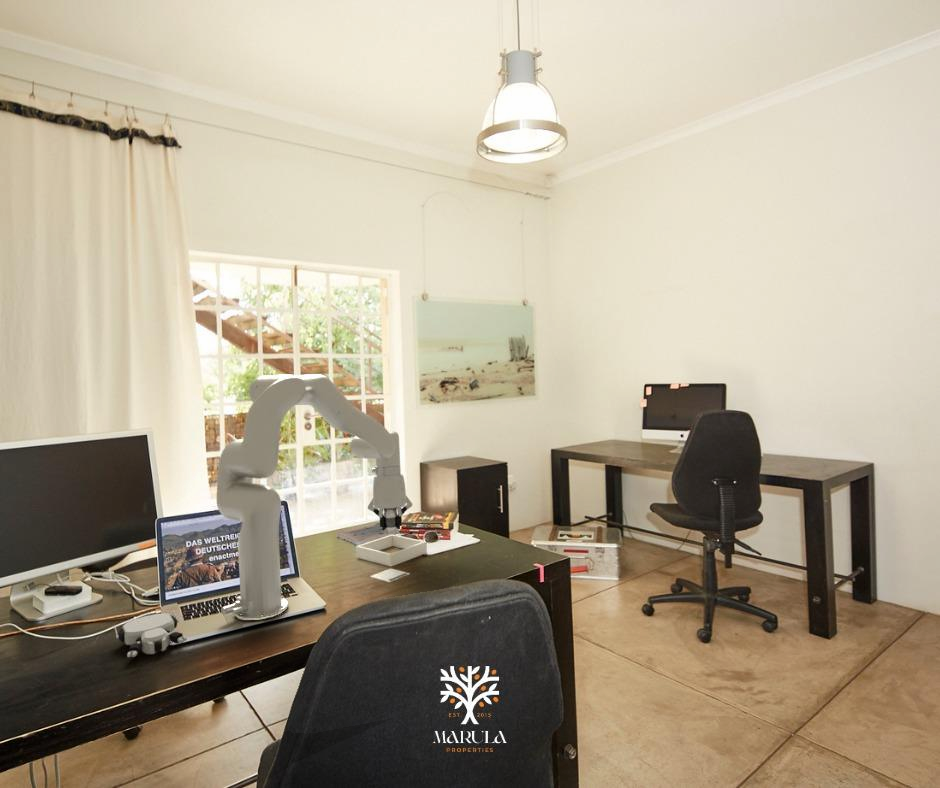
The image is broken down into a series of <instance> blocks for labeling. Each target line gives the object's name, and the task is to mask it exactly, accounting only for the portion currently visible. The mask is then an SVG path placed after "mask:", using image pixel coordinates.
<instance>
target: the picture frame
mask: <svg viewBox="0 0 940 788" xmlns="http://www.w3.org/2000/svg"><path fill="white" fill-rule="evenodd" d="M396 534H399V530H398V532H397V533H394V534H393V535H396ZM389 535H392V534H386V533H385V530H382V527H380V522H376V523H374V524H369V525H364V526H361V527H356V528H352V529H347V530H343V531H338V532H336V537H337V538H338V537H340V538H339V539H341V538H342V539H341V540H343V539H345V540H347V541H346V542H348V541H349V542H348V543H350V542H352V543H351V544H353V543H354V544H353V545H355V544H356V546H358V545H361V544H364V543H368V542H371V541H374V540H377V539H380V538H383V537H386V536H389ZM345 540H344V541H345Z"/></svg>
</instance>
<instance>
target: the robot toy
mask: <svg viewBox="0 0 940 788" xmlns="http://www.w3.org/2000/svg"><path fill="white" fill-rule="evenodd" d="M172 613H173V615H170V613H163V612H162V613H155V614H149V615H145V616H141V617H139V618H134V619H133V620H130V621H128V622H126V623H125V624H123V625H122V627H121V628H120V629H119V631H117V627H116V625H114V626H113V628H114V631H115V634H116V635H115V636H116V640H119V641H120V642H121V643H122V644H123V643H124V644H125V645H127V646H130V647H129V649H128V652H127V654H126V656H127V658H131V657H132V658H134V657H135V658H136V656H138V655H139V653H140V652H141V651H142V652H143V653H144V654H146V655H154V654H156V653H159V652H164V651H166V650H167V647H169V644H170V642H171V641H172V642H171V643H173V642H174V643H173V644H179V643H180V644H182V643H184V642H186V641H187V639H188V638H187V636H183V633H182V632H179V631H174V630H175V629H177V626H178V623H179V619H178V617H177V615H176V612H175V610H173V611H172ZM172 631H173V632H172ZM170 632H172V633H170Z"/></svg>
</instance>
